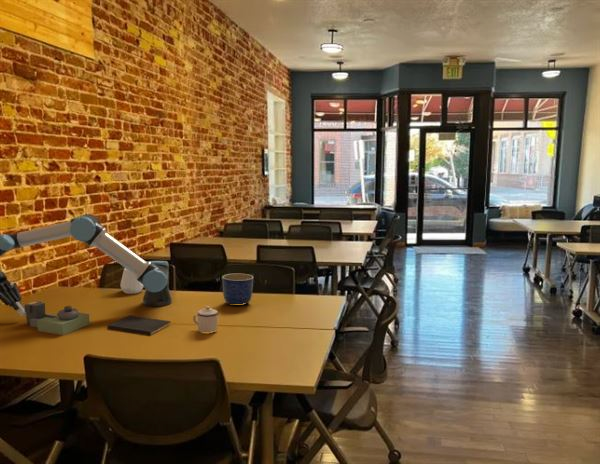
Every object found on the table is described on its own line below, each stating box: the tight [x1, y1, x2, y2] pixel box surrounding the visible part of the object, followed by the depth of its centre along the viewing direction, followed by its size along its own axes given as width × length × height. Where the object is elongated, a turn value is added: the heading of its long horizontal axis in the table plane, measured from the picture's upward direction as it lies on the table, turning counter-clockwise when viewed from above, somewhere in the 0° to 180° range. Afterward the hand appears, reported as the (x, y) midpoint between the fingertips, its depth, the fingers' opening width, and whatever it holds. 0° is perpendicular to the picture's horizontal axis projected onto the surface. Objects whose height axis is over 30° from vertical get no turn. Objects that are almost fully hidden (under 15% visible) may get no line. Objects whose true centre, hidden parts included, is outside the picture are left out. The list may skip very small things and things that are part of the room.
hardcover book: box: [107, 314, 172, 336], centre depth 227 cm, size 16×23×2 cm
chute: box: [23, 300, 46, 325], centre depth 227 cm, size 6×7×9 cm
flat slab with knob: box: [29, 305, 90, 336], centre depth 223 cm, size 22×16×10 cm
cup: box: [119, 267, 144, 295], centre depth 286 cm, size 13×13×14 cm
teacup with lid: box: [192, 305, 219, 332], centre depth 224 cm, size 12×9×12 cm
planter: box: [221, 273, 254, 305], centre depth 269 cm, size 17×17×15 cm
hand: (23, 314), depth 229 cm, fingers closed
